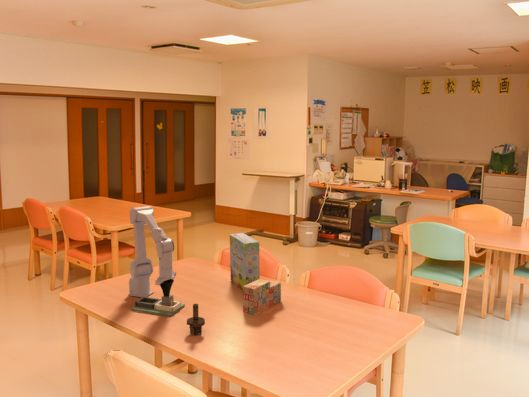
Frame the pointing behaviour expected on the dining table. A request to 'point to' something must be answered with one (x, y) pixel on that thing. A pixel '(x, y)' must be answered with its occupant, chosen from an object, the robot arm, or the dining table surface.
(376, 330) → the dining table surface
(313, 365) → the dining table surface
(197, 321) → the industrial component
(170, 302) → the plug
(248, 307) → the stack of blocks
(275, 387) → the dining table surface
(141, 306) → the board
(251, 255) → the snack box
